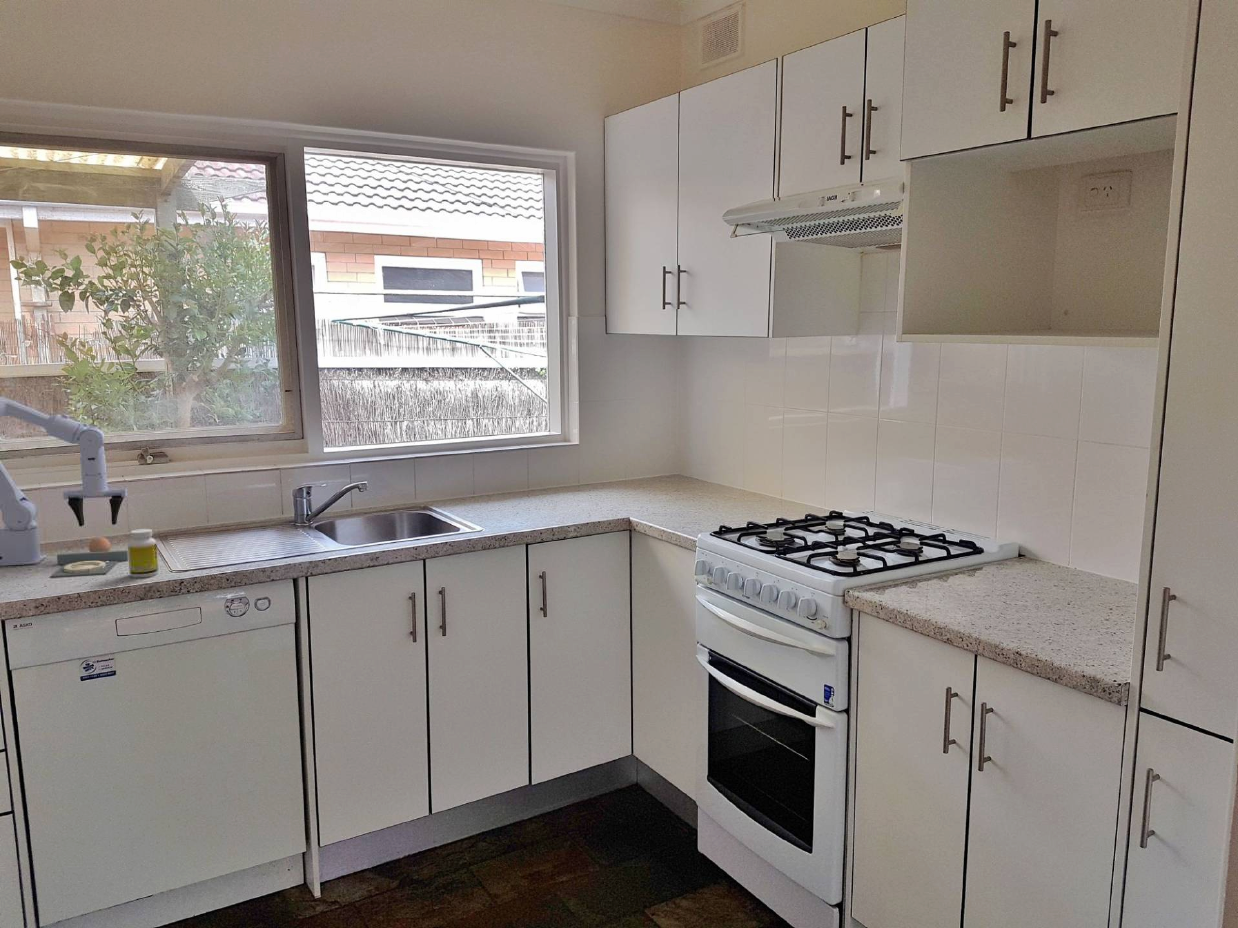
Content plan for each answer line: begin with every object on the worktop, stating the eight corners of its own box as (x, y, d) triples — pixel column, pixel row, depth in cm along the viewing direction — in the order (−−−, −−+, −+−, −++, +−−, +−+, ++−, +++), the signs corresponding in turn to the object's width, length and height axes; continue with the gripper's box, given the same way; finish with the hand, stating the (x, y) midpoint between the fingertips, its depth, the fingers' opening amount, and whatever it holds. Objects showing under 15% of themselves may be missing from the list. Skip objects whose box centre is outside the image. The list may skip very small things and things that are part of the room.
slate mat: (50, 577, 220) (50, 572, 220) (64, 565, 232) (64, 560, 231) (106, 574, 224) (105, 569, 224) (117, 562, 235) (117, 557, 235)
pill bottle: (162, 574, 224) (159, 530, 222) (135, 579, 219) (132, 534, 218) (152, 570, 228) (149, 526, 226) (125, 575, 223) (122, 530, 222)
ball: (87, 558, 239) (85, 539, 238) (92, 554, 244) (90, 535, 243) (108, 557, 240) (107, 538, 240) (113, 553, 245) (111, 534, 244)
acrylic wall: (57, 564, 233) (56, 555, 232) (58, 563, 233) (58, 554, 233) (127, 560, 237) (126, 551, 237) (128, 559, 238) (127, 550, 238)
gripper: (128, 470, 245) (132, 520, 247) (67, 472, 241) (71, 523, 242) (122, 474, 238) (126, 525, 240) (59, 476, 234) (63, 528, 236)
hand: (98, 524), depth 241 cm, fingers open, 7 cm apart
